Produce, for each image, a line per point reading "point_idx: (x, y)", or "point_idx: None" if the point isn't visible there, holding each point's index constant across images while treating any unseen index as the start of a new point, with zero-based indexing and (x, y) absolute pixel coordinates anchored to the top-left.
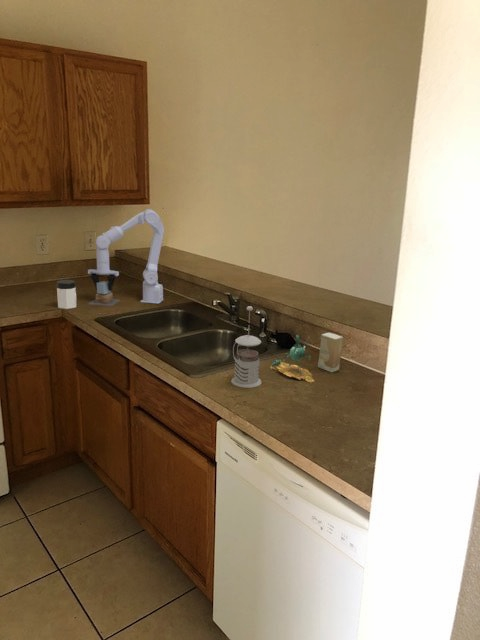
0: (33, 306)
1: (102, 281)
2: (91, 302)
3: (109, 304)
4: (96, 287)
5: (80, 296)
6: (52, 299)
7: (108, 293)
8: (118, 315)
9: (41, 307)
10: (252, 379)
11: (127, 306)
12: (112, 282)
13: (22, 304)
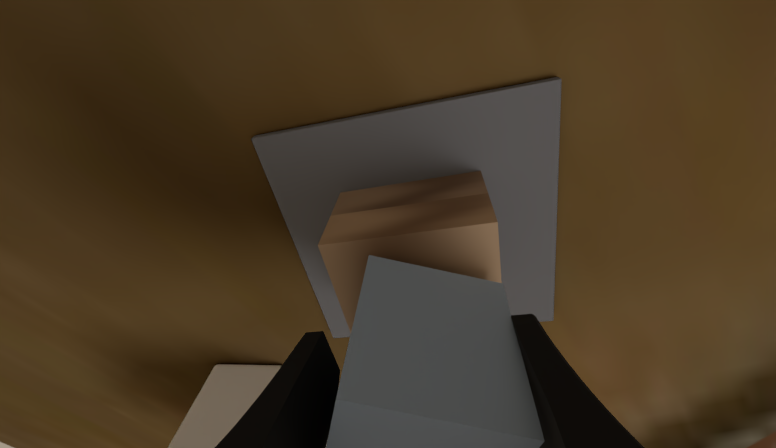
0: (117, 431)
1: (342, 425)
2: (329, 296)
3: (513, 293)
4: (329, 407)
5: (39, 134)
6: (13, 307)
7: (462, 272)
8: (676, 438)
9: (164, 433)
10: None
11: (706, 257)
12: (594, 435)
13: (40, 422)
